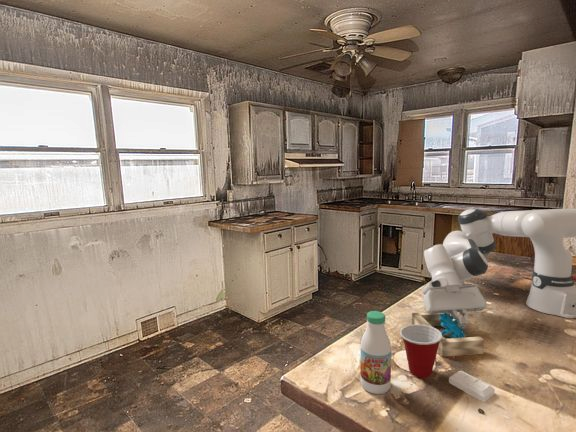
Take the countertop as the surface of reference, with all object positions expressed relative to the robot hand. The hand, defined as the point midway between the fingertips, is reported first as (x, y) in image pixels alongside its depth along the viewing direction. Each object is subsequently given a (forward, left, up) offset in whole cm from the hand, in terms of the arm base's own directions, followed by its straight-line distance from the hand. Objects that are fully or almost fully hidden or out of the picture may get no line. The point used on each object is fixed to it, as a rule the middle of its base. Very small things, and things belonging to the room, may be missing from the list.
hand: (463, 324), depth 107 cm
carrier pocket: (+6, 0, -4) cm, 8 cm away
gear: (+3, 0, -4) cm, 6 cm away
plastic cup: (+23, +16, -5) cm, 28 cm away
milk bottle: (+37, +20, -5) cm, 42 cm away
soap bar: (+13, +24, -5) cm, 28 cm away
